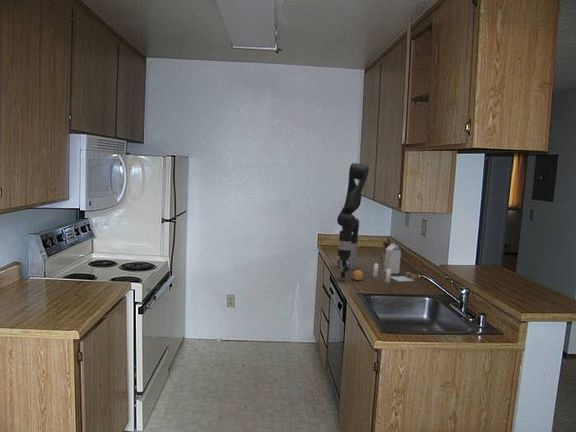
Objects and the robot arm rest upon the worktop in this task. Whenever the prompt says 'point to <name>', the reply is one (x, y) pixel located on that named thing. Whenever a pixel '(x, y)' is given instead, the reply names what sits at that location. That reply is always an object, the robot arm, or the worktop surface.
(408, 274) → the backstop strip
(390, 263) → the milk carton
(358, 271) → the ball
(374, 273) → the left post
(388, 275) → the right post
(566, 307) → the worktop surface
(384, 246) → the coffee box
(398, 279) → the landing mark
